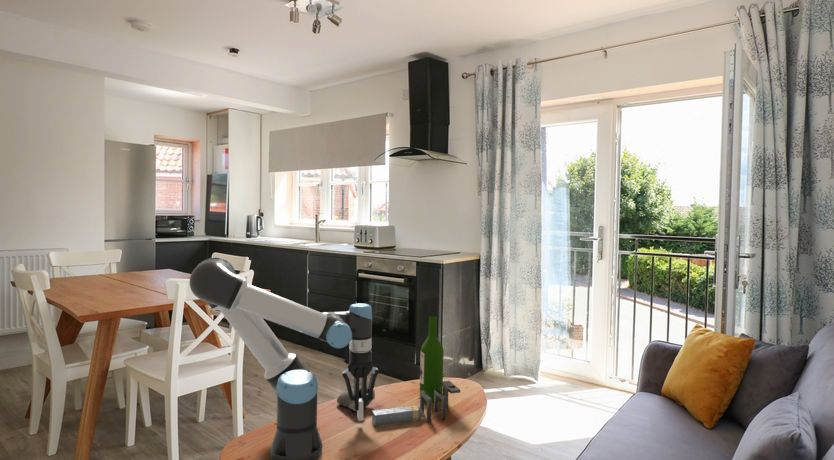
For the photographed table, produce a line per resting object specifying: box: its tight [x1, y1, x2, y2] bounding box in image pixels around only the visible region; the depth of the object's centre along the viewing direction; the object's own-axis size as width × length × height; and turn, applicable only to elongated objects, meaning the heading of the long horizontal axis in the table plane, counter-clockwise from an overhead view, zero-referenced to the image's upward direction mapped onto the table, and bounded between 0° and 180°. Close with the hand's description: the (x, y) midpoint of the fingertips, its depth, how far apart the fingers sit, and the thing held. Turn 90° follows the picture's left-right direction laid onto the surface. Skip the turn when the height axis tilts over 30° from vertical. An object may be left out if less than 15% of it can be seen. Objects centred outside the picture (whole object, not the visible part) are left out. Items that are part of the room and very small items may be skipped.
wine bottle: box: [419, 315, 444, 405], centre depth 188 cm, size 9×9×32 cm
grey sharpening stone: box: [371, 405, 424, 428], centre depth 168 cm, size 18×4×4 cm, turn 110°
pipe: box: [336, 383, 376, 412], centre depth 180 cm, size 16×9×15 cm
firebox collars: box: [419, 380, 461, 424], centre depth 175 cm, size 12×10×10 cm
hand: (360, 418), depth 164 cm, fingers closed
